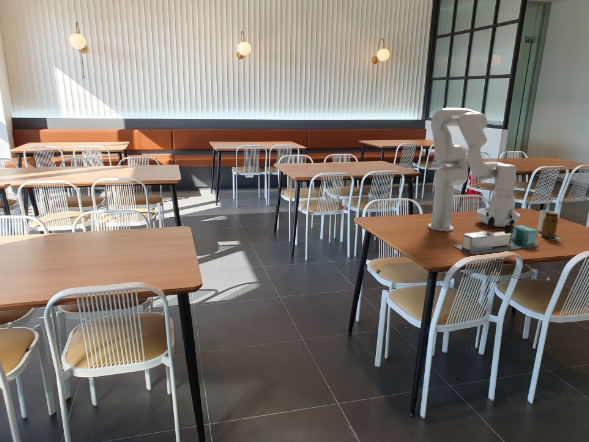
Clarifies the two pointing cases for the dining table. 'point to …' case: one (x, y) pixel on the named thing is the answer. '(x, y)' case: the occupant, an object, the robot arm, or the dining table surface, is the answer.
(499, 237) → the white rectangular stick
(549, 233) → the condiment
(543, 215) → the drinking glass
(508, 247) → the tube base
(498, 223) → the serving bowl
